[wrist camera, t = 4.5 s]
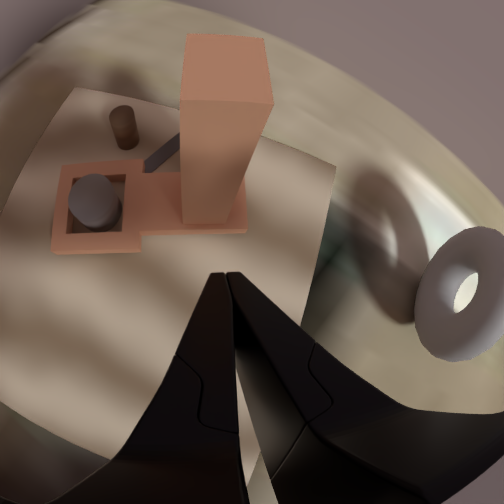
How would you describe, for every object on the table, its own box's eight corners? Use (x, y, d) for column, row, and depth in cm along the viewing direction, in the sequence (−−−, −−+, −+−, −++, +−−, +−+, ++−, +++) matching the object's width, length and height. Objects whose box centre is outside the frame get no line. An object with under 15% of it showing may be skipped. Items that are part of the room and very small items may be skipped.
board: (241, 485, 16) (253, 517, 12) (-30, 369, 13) (-62, 375, 9) (329, 173, 22) (355, 146, 18) (78, 95, 20) (66, 62, 16)
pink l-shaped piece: (56, 254, 16) (-66, 177, 5) (66, 172, 17) (-9, 50, 6) (246, 249, 18) (328, 149, 7) (240, 165, 19) (295, 24, 8)
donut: (419, 237, 23) (509, 199, 14) (444, 254, 23) (530, 225, 14) (389, 351, 20) (495, 357, 11) (418, 362, 21) (517, 369, 11)
